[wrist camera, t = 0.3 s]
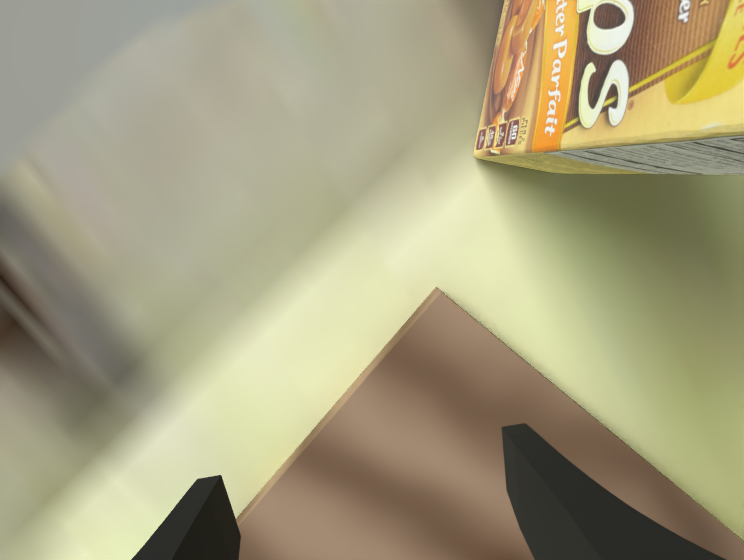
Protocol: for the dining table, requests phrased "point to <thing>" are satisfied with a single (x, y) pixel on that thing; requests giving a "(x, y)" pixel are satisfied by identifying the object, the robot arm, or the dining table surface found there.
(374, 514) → the thin wooden panel
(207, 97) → the dining table surface
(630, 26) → the candy box
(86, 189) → the dining table surface
